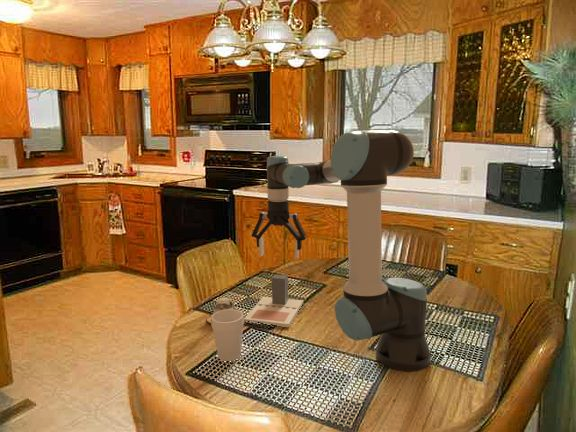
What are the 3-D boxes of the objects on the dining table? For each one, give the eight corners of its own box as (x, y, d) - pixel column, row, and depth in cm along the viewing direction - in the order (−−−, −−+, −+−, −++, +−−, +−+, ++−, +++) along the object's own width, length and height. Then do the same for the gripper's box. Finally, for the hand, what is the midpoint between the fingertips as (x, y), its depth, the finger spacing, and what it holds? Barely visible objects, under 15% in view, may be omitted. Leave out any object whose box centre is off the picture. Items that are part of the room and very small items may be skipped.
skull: (239, 325, 146) (217, 303, 145) (218, 343, 148) (197, 321, 148) (247, 309, 157) (228, 289, 156) (228, 326, 160) (208, 306, 159)
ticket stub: (298, 311, 158) (298, 281, 155) (257, 307, 162) (256, 278, 160) (303, 304, 164) (303, 275, 162) (263, 300, 168) (262, 272, 166)
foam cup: (230, 345, 134) (228, 306, 131) (252, 355, 128) (250, 314, 126) (206, 358, 127) (204, 317, 124) (228, 369, 121) (226, 326, 118)
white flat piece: (288, 328, 145) (288, 323, 145) (244, 323, 149) (243, 318, 149) (298, 312, 157) (298, 308, 157) (256, 308, 162) (256, 304, 161)
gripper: (314, 199, 155) (314, 256, 159) (249, 196, 162) (250, 251, 166) (309, 202, 148) (310, 262, 152) (241, 200, 155) (243, 257, 159)
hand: (279, 256), depth 159 cm, fingers open, 13 cm apart
